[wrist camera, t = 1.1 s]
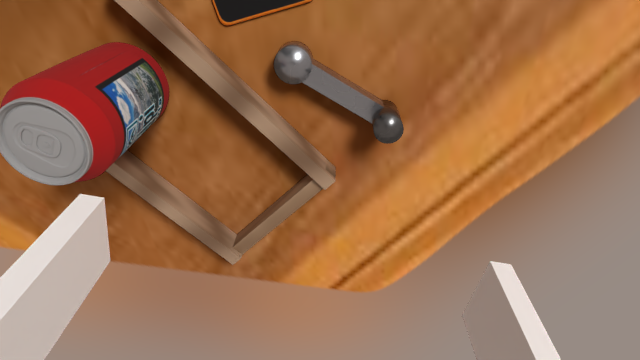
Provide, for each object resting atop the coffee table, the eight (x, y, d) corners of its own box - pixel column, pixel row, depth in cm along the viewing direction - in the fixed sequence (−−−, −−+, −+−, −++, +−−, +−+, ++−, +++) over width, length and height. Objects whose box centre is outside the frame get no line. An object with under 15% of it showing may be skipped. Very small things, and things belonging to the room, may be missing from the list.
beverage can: (162, 133, 36) (92, 211, 26) (83, 102, 35) (-24, 170, 25) (182, 61, 33) (111, 117, 23) (96, 24, 32) (-20, 65, 22)
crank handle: (270, 65, 33) (263, 78, 30) (287, 33, 32) (282, 44, 29) (385, 132, 36) (389, 151, 33) (405, 105, 34) (411, 122, 31)
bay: (35, 94, 35) (16, 105, 33) (123, -32, 30) (107, -29, 28) (238, 248, 42) (232, 264, 40) (335, 167, 37) (335, 181, 35)
